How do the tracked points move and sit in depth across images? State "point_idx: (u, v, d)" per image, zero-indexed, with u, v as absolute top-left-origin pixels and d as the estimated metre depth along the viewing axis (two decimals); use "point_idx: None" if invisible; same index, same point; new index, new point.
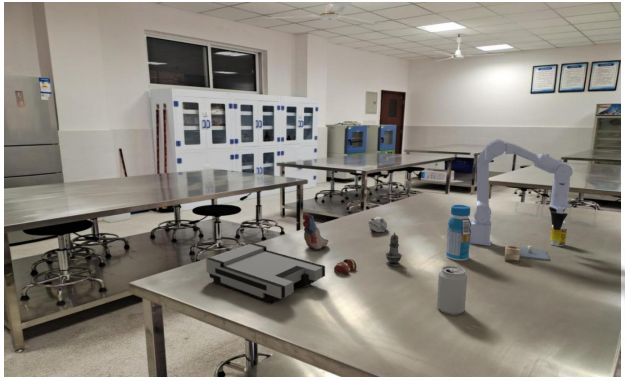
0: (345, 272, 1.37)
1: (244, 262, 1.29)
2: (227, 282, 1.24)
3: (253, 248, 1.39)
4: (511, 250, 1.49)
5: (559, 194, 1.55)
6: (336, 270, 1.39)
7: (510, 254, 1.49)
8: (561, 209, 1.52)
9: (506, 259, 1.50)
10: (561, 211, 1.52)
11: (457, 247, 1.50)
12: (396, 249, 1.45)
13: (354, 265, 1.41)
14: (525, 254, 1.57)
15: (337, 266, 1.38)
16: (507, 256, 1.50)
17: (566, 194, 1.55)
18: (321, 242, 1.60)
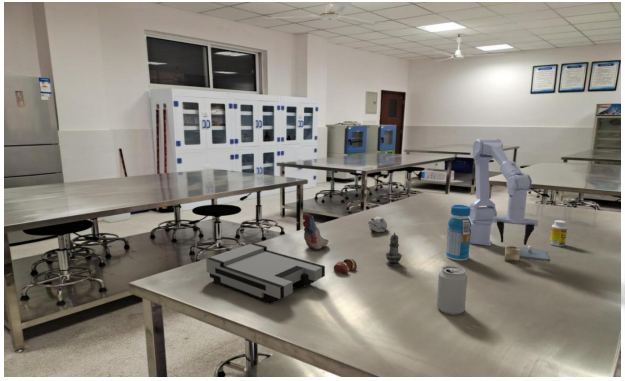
0: (344, 272, 1.37)
1: (244, 262, 1.30)
2: (227, 282, 1.24)
3: (253, 248, 1.39)
4: (511, 250, 1.49)
5: (508, 206, 1.49)
6: (335, 269, 1.40)
7: (510, 254, 1.49)
8: (494, 218, 1.51)
9: (506, 259, 1.50)
10: (493, 220, 1.51)
11: (457, 247, 1.50)
12: (396, 249, 1.45)
13: (354, 265, 1.41)
14: (525, 254, 1.57)
15: (336, 265, 1.38)
16: (507, 256, 1.50)
17: (514, 207, 1.46)
18: (321, 242, 1.60)
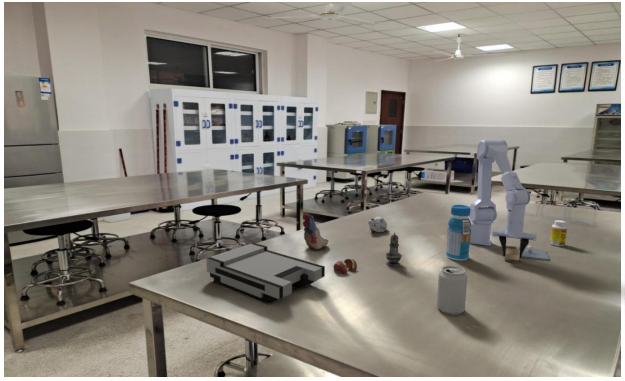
0: (342, 271, 1.38)
1: (244, 262, 1.30)
2: (227, 282, 1.25)
3: (254, 248, 1.40)
4: (511, 250, 1.49)
5: None
6: (335, 269, 1.40)
7: (510, 254, 1.49)
8: None
9: (506, 259, 1.50)
10: (492, 234, 1.52)
11: (457, 247, 1.50)
12: (396, 249, 1.45)
13: (354, 265, 1.41)
14: (525, 254, 1.57)
15: (335, 265, 1.39)
16: (507, 256, 1.50)
17: (513, 222, 1.47)
18: (321, 242, 1.60)
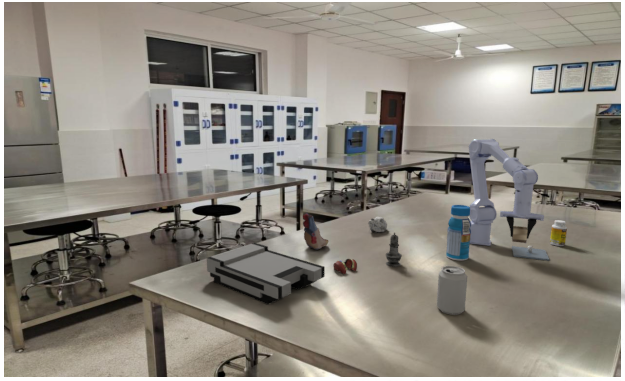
0: (341, 271, 1.38)
1: (244, 262, 1.30)
2: (226, 281, 1.25)
3: (254, 248, 1.40)
4: (518, 230, 1.50)
5: (514, 200, 1.52)
6: (335, 268, 1.41)
7: (517, 235, 1.51)
8: (500, 212, 1.53)
9: (513, 239, 1.51)
10: (500, 214, 1.54)
11: (457, 247, 1.50)
12: (396, 249, 1.45)
13: (354, 265, 1.40)
14: (525, 254, 1.57)
15: (335, 264, 1.40)
16: (514, 236, 1.51)
17: (522, 202, 1.48)
18: (321, 242, 1.60)
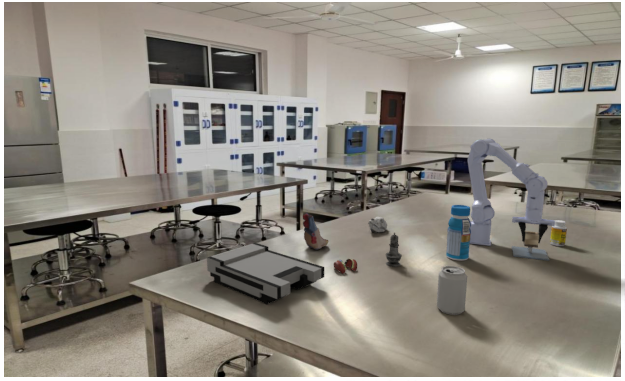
0: (340, 270, 1.38)
1: (244, 261, 1.30)
2: (226, 281, 1.25)
3: (255, 248, 1.40)
4: (530, 235, 1.56)
5: (526, 206, 1.57)
6: (335, 267, 1.42)
7: (529, 239, 1.56)
8: (512, 218, 1.59)
9: (525, 244, 1.57)
10: (512, 220, 1.59)
11: (457, 247, 1.50)
12: (396, 249, 1.45)
13: (354, 265, 1.40)
14: (525, 254, 1.57)
15: (334, 263, 1.40)
16: (526, 241, 1.57)
17: (538, 209, 1.53)
18: (321, 242, 1.60)
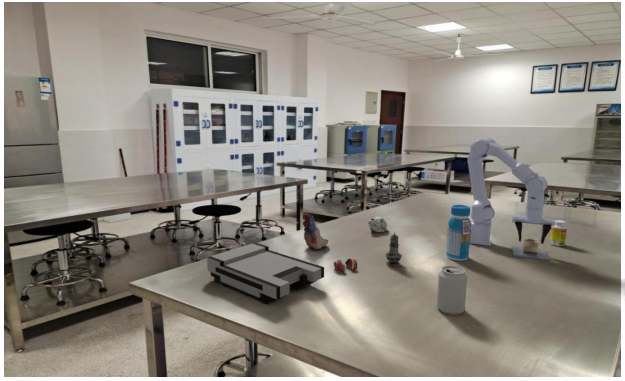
0: (340, 270, 1.39)
1: (244, 261, 1.30)
2: (226, 281, 1.25)
3: (255, 248, 1.40)
4: (530, 242, 1.56)
5: (526, 206, 1.57)
6: (335, 267, 1.42)
7: (529, 247, 1.57)
8: (512, 218, 1.59)
9: (525, 251, 1.57)
10: (512, 220, 1.59)
11: (457, 247, 1.50)
12: (396, 249, 1.45)
13: (354, 266, 1.40)
14: (525, 254, 1.57)
15: (334, 263, 1.41)
16: (526, 248, 1.57)
17: (538, 209, 1.53)
18: (321, 242, 1.60)
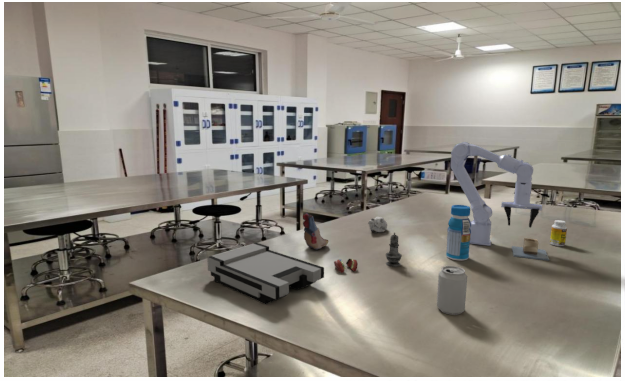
0: (339, 270, 1.39)
1: (244, 261, 1.30)
2: (226, 281, 1.25)
3: (255, 248, 1.40)
4: (530, 242, 1.56)
5: None
6: (335, 266, 1.43)
7: (529, 247, 1.57)
8: None
9: (525, 251, 1.57)
10: (501, 205, 1.65)
11: (457, 247, 1.50)
12: (396, 249, 1.45)
13: (354, 266, 1.40)
14: (525, 254, 1.57)
15: (334, 262, 1.41)
16: (526, 248, 1.57)
17: (527, 193, 1.59)
18: (321, 242, 1.60)
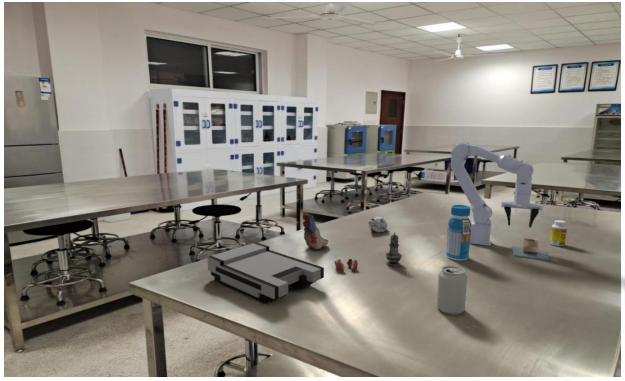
0: (338, 269, 1.39)
1: (245, 261, 1.30)
2: (226, 281, 1.25)
3: (256, 248, 1.40)
4: (530, 242, 1.56)
5: None
6: (336, 266, 1.43)
7: (529, 247, 1.57)
8: None
9: (525, 251, 1.57)
10: (501, 205, 1.65)
11: (457, 247, 1.50)
12: (396, 249, 1.45)
13: (354, 266, 1.40)
14: (525, 254, 1.57)
15: (334, 262, 1.42)
16: (526, 248, 1.57)
17: (527, 193, 1.59)
18: (321, 242, 1.60)
